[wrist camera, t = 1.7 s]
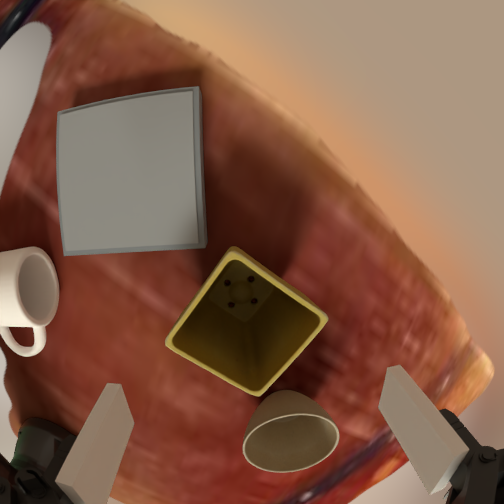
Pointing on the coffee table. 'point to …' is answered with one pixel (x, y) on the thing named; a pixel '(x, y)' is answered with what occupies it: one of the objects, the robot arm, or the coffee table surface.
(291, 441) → the round planter pot
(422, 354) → the coffee table surface
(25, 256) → the mug
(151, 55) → the coffee table surface
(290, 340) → the flower pot
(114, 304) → the coffee table surface
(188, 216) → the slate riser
